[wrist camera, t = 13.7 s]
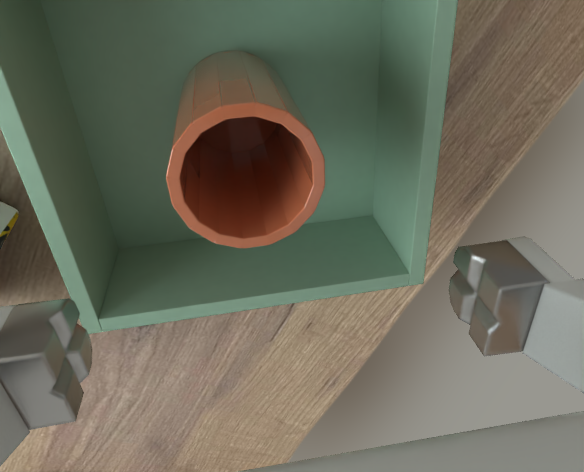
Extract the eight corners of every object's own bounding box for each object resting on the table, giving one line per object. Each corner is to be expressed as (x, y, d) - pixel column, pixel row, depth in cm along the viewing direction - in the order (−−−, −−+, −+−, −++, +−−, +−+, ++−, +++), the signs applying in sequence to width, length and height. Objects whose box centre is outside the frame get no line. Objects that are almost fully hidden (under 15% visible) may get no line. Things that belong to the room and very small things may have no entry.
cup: (282, 44, 22) (323, 94, 14) (289, 149, 25) (326, 237, 17) (170, 55, 21) (150, 112, 14) (190, 161, 24) (183, 257, 17)
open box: (398, -111, 20) (475, -134, 14) (380, 218, 29) (423, 283, 23) (-2, -87, 18) (-97, -104, 13) (110, 254, 27) (85, 335, 21)
